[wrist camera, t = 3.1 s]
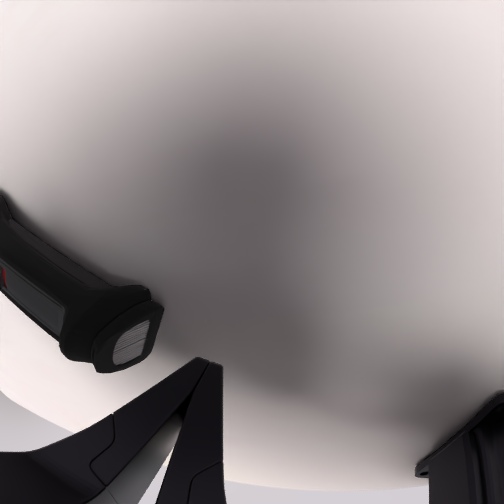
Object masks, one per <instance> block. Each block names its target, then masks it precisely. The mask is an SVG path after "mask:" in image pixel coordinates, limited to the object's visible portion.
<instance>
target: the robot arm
mask: <svg viewBox="0 0 504 504" xmlns="http://www.w3.org/2000/svg"><path fill="white" fill-rule="evenodd" d="M174 445H175V446H174ZM173 447H174V449H173V452H172V455H171V458H170V461H169V464H168V467H167V470H166V473H165V476H164V479H163V482H162V485H161V488H160V491H159V494H158V498H157V500H156V503H155V504H227V503H226V496H225V490H224V470H223V366H222V365H220V364H218V363H215V362H210V361H209V360H207V359H204V358H202V357H195V358H194V359H192V360H191V361H190V362H188V363H187V364H185V365H184V366H182V367H181V368H180V369H178V370H177V371H175V372H174V373H172V374H171V375H169V376H168V377H166V378H165V379H163V380H162V381H160V382H159V383H158V384H156V385H155V386H153V387H152V388H150V389H149V390H147V391H146V392H144V393H143V394H141V395H140V396H138V397H136V398H135V399H133V400H132V401H130V402H129V403H127V404H126V405H124V406H123V407H121V408H120V409H118V410H116V411H115V412H114V413H113V414H110V415H108V416H107V417H105V418H104V419H102V420H100V421H99V422H97V423H95V424H94V425H92V426H90V427H88V428H86V429H84V430H82V431H80V432H78V433H76V434H74V435H72V436H69V437H67V438H64V439H62V440H60V441H57V442H55V443H53V444H50V445H48V446H45V447H43V448H40V449H37V450H32V451H26V452H0V504H138V503H139V501H140V499H141V498H142V496H143V494H144V493H145V492H146V490H147V488H148V487H149V485H150V484H151V482H152V480H153V479H154V477H155V475H156V474H157V473H158V471H159V469H160V468H161V466H162V464H163V463H164V461H165V460H166V458H167V456H168V455H169V453H170V452H171V450H172V448H173ZM415 476H416V477H419V478H429V504H504V394H501V395H499V396H497V397H495V398H494V399H493V400H491V401H490V402H489V403H488V404H487V405H486V406H485V407H484V408H483V409H482V410H481V411H480V412H479V413H478V414H477V415H476V416H475V417H474V418H473V419H472V420H471V421H470V422H469V423H468V424H467V425H466V426H465V427H464V428H463V429H462V430H460V431H459V432H458V433H457V434H456V435H455V436H454V437H453V438H451V439H450V440H449V441H448V442H447V443H445V444H444V445H443V446H442V447H441V448H439V449H438V450H437V451H436V452H435V453H433V454H432V455H431V456H430V457H428V458H427V459H426V460H424V461H423V462H422V463H420V464H419V465H418V466H416V467H415Z"/></svg>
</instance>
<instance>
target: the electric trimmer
mask: <svg viewBox="0 0 504 504" xmlns="http://www.w3.org/2000/svg"><path fill="white" fill-rule="evenodd" d="M0 291H1V292H2V293H3V294H4V295H5V296H6V297H7V298H8V299H9V300H10V301H11V302H13V303H14V304H15V305H16V306H17V307H18V308H19V309H20V310H21V311H22V312H24V313H25V314H26V315H27V316H28V317H29V318H30V319H31V320H33V321H34V322H35V323H36V324H37V325H38V326H40V327H41V328H42V329H43V330H44V331H46V332H47V333H48V334H49V335H51V336H52V337H53V338H54V339H56V340H57V341H58V342H59V347H60V350H61V352H62V353H63V355H64V356H65V357H66V358H68V359H69V360H72V361H78V362H87V363H93V365H94V367H95V369H96V372H98V373H113V372H117V371H120V370H124V369H127V368H129V367H131V366H133V365H135V364H138V363H140V362H141V361H143V360H144V359H145V358H146V357H147V356H148V355H149V354H150V353H151V351H152V348H153V345H154V342H155V338H156V335H157V332H158V328H159V325H160V322H161V319H162V315H163V311H164V308H163V307H162V306H160V305H159V304H157V303H156V302H154V301H151V295H150V291H149V289H147V288H145V287H143V286H141V285H130V286H120V287H112V286H110V285H109V284H107V283H105V282H104V281H102V280H101V279H99V278H97V277H96V276H94V275H93V274H91V273H89V272H88V271H86V270H85V269H83V268H82V267H80V266H79V265H77V264H76V263H74V262H72V261H71V260H69V259H68V258H66V257H65V256H63V255H62V254H60V253H59V252H58V251H56V250H55V249H53V248H52V247H50V246H49V245H47V244H46V243H44V242H43V241H42V240H40V239H39V238H37V237H36V236H35V235H33V234H32V233H30V232H29V231H28V230H26V229H25V228H23V227H22V226H21V225H19V224H18V223H17V222H15V221H14V220H13V219H12V217H11V215H10V212H9V210H8V207H7V205H6V202H5V200H4V198H3V197H2V196H1V195H0Z"/></svg>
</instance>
